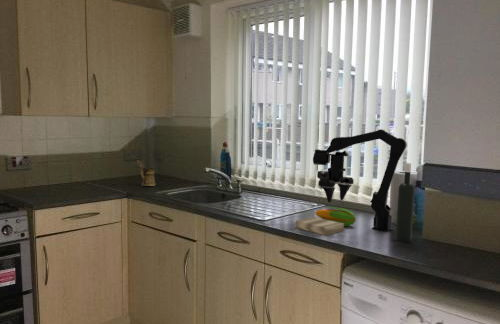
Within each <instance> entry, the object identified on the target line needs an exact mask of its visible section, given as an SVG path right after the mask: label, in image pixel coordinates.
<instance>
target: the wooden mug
mask: <svg viewBox="0 0 500 324" xmlns="http://www.w3.org/2000/svg"><path fill="white" fill-rule="evenodd" d="M136 164H137V165H138V166H139V168H140V169H141V170H140V177H141V179H142V183H141V186H142V187H143V186H154V187H156V186H157V185H156V181H155V179H156V178H155V170H154V168H145V166H146V165H145V164H144V162H143V161H141V160H140V159H136ZM155 185H156V186H155Z"/></svg>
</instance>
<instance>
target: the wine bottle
mask: <svg viewBox="0 0 500 324" xmlns="http://www.w3.org/2000/svg"><path fill="white" fill-rule="evenodd" d="M411 171H412V163H411V162H405V163H404V182H403V183H401V184H399V186H398V191H397V192H398V195H397V208H396V209H397V210H396V212H397V213H396V225H395V240H396V241H398V242H403V243H410V242H412V233H413V219H414V208H415V207H414V205H415V186H414V185H415V184H412V183H411Z"/></svg>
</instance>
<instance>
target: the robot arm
mask: <svg viewBox="0 0 500 324" xmlns="http://www.w3.org/2000/svg"><path fill="white" fill-rule="evenodd" d="M375 140H376V141H377V140H380V141H382V142H384V143H385V144H387V145H388V146H390V149H389V159H388V162H387V165H386V169H385V170H384V174H383V177H382V180H381V183H380V186H379V188H378V190H377V191H374V192H373V193H372V197H371V200H370V201H369V203H370V207H371V209H372V210H373V211H374V212H375V214H374V217H373V227H372V228H371V229H372V230H377V231H382V232H389V231H392V230H394V228H393V227H392V220H393V216H392V215H391V213H392V210H393V209H392V208H391V207H390V206H389V205H388V198H389V190H390V188H391V184H392V182H393V179H394V176H395V172H396V169H397V167H398V164H399V160H401V157H402V156H403V154H404V152H405V150H406V149H407V147H408V143H407V141H406V140H405V139H404V138H402V137H396V136H394V135H393V134H392V133H389V132H387V131H386V130H385V129H381V128H380V129H377V130H374V131H370V132H366V133H361V134H358V135H353V136H352V135H351V136H339V137H334V138H332V139H331V141H330V142H329V143H330V145H329V146H328V147H327V148H326V149H314V153H313V157H312V163H313V165H319V166H327V165H328V164H330V167H328V168H327V171H324V170H318V171H317V173H316V175H317V176H316V177H317V179H319V181H318V187H320V188H321V189H322V190H323V191H324V193H325V196H326V200H327V203H332V199H333V196H334V193H335V189H336V187H335V186H336V185H337V186H338V188H339V199H340V201H343V200H344V198H345V197H346V195H347V193H348V191H349V190H350V188H351V187H352V186H353V184H354V180H355V179H354V178H353V177H350V176H344V172H346V170H347V169H346V168H345V157H348V156H350V154H349V153H348V152H347V150H345V149H347V148H350V147H351V146H355V145H358V144H362V143H366V142H371V141H375ZM342 150H343V151H342Z"/></svg>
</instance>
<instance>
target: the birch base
mask: <svg viewBox="0 0 500 324" xmlns="http://www.w3.org/2000/svg"><path fill="white" fill-rule="evenodd" d="M294 227H295V228H296V229H300V230H304V231H307V232H310V233H314V234H320V235H323V236H329V235H333V234H338V233H340V232H344V230H345V227H344V224H343V223H339V222H334V221H330V220H325V219H321V218H320V217H316V216H311V217H307V218H301V219H296V220H295V226H294Z"/></svg>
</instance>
